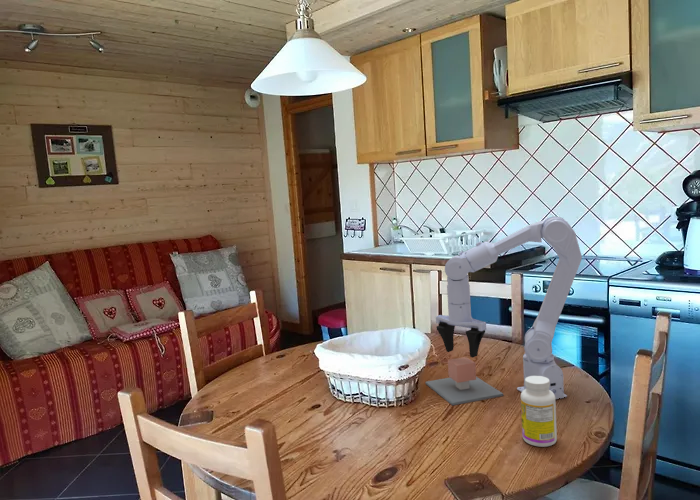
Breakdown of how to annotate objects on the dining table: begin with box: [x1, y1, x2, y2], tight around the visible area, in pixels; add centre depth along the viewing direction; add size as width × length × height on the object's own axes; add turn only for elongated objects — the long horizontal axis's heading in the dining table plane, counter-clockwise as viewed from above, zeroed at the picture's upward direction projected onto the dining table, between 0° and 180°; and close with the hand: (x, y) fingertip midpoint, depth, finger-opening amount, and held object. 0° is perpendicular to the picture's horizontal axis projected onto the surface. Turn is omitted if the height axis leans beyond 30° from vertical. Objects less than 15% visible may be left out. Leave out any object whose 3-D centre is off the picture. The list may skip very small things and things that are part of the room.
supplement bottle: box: [520, 376, 558, 448], centre depth 105 cm, size 7×7×13 cm
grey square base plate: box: [425, 376, 504, 406], centre depth 135 cm, size 16×14×4 cm
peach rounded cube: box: [447, 356, 477, 383], centre depth 134 cm, size 5×5×4 cm
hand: (461, 353), depth 134 cm, fingers open, 7 cm apart
